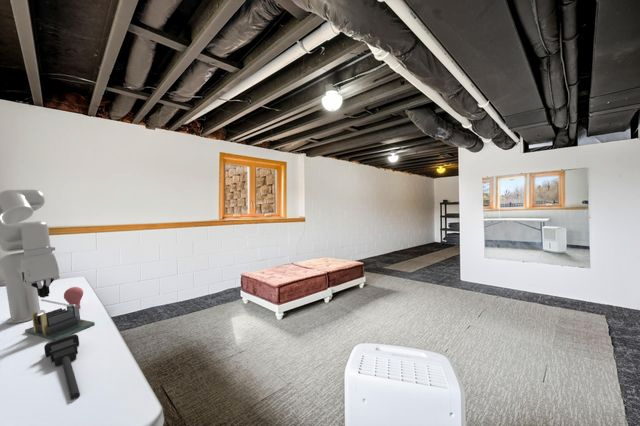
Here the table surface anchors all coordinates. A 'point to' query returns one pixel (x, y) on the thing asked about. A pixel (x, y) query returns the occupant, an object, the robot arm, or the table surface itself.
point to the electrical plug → (65, 359)
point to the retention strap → (59, 303)
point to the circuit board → (58, 323)
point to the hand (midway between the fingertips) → (44, 296)
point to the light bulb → (73, 295)
